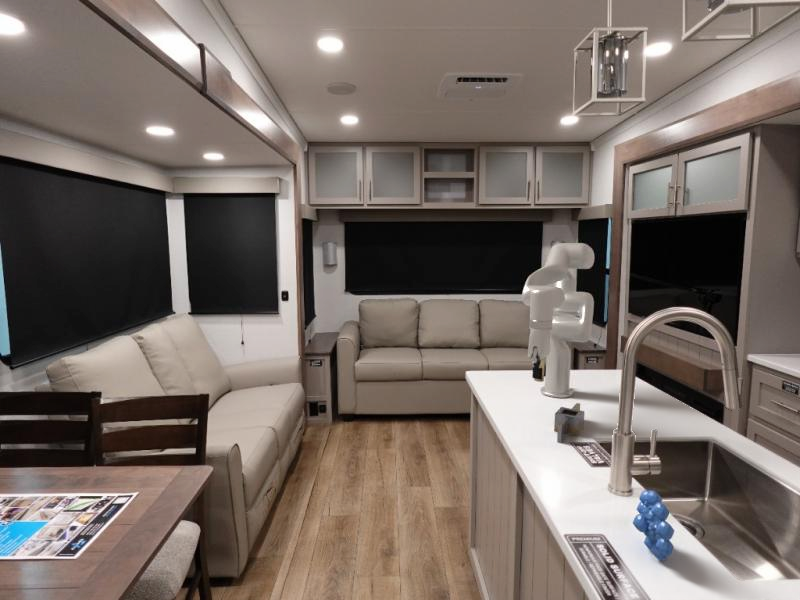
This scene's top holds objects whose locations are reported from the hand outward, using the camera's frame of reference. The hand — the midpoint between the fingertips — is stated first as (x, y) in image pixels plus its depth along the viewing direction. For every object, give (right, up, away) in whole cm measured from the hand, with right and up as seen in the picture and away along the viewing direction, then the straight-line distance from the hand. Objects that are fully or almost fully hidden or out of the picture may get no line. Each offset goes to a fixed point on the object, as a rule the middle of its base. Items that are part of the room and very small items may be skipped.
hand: (539, 376), depth 163 cm
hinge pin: (0, -1, 0) cm, 1 cm away
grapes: (+2, -24, -68) cm, 72 cm away
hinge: (+7, -16, -8) cm, 20 cm away
